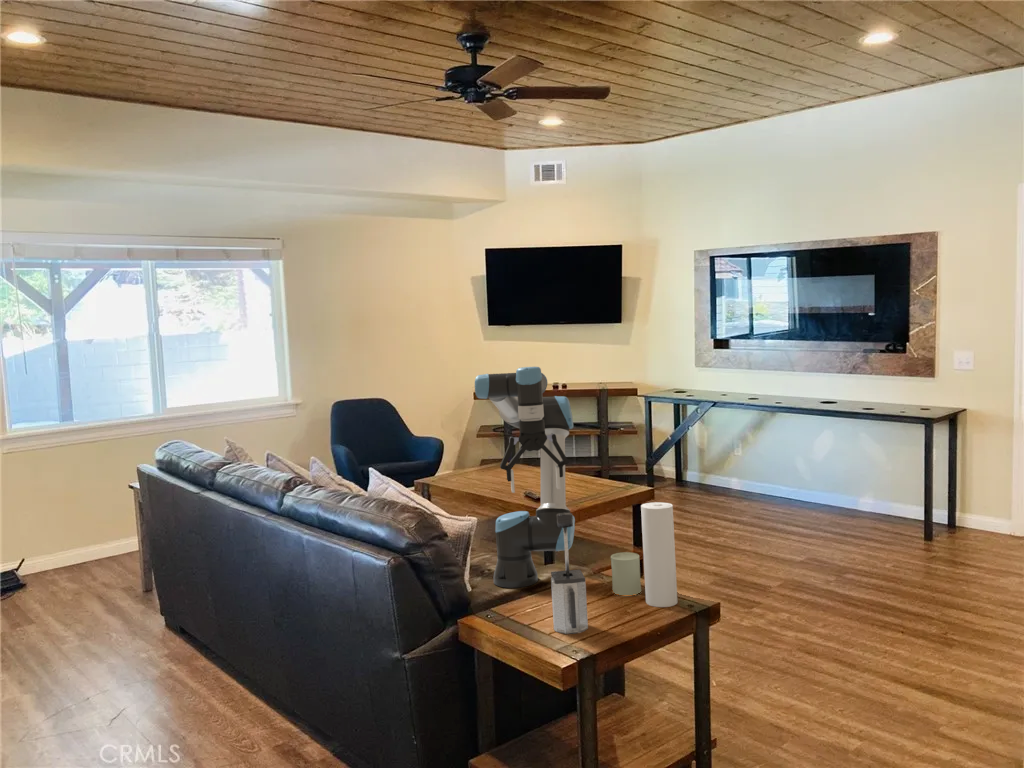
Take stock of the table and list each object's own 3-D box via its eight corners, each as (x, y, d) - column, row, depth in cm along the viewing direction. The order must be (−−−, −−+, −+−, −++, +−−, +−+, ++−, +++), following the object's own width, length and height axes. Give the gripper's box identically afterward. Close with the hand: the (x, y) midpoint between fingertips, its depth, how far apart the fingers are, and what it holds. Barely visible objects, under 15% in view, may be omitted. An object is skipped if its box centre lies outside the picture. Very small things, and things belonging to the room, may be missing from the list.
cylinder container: (677, 607, 226) (672, 506, 225) (645, 606, 228) (640, 507, 227) (677, 596, 235) (672, 500, 234) (646, 596, 237) (641, 500, 236)
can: (612, 587, 248) (610, 550, 248) (641, 587, 247) (639, 550, 246) (612, 596, 239) (610, 558, 239) (642, 596, 238) (640, 558, 237)
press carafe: (551, 622, 219) (548, 571, 218) (584, 620, 220) (582, 568, 219) (557, 639, 207) (554, 584, 206) (592, 636, 207) (589, 581, 207)
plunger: (555, 582, 217) (551, 512, 216) (578, 580, 218) (574, 511, 217) (558, 589, 211) (554, 517, 210) (581, 587, 211) (577, 516, 210)
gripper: (490, 423, 221) (495, 496, 222) (575, 417, 223) (579, 489, 225) (488, 420, 228) (493, 490, 230) (570, 414, 231) (574, 484, 232)
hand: (535, 490), depth 227 cm, fingers open, 13 cm apart
